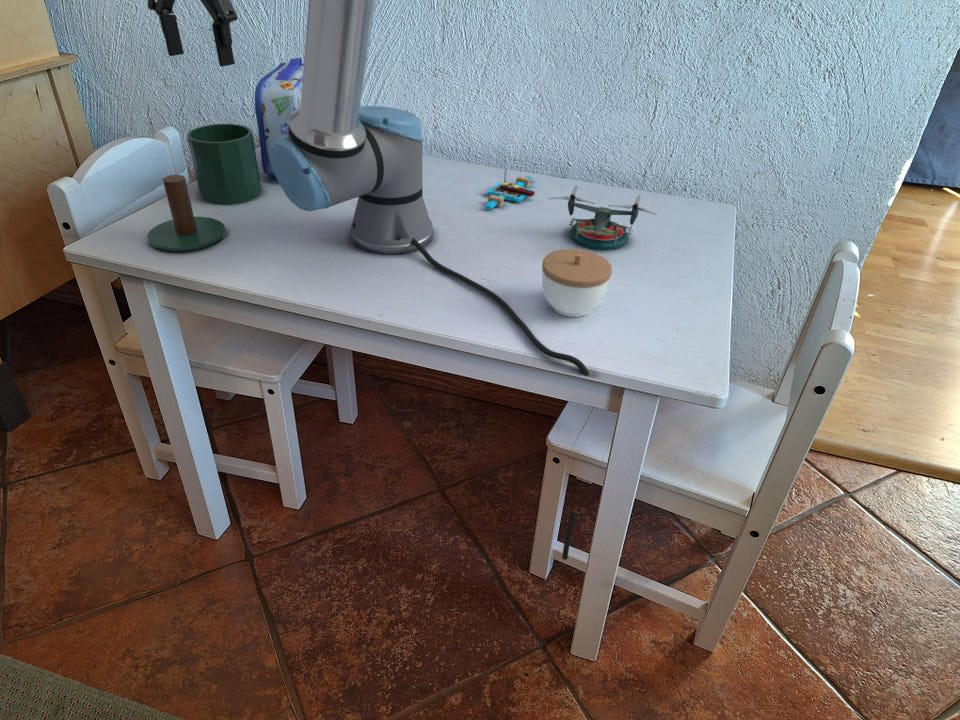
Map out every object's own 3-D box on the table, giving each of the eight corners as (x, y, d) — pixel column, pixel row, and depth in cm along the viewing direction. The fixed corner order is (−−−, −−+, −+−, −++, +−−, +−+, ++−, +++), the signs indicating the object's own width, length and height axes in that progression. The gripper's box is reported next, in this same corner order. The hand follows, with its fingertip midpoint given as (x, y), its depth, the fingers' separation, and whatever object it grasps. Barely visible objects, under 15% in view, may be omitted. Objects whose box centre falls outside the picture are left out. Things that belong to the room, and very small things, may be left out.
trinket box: (598, 291, 110) (606, 240, 104) (610, 326, 101) (620, 272, 96) (534, 289, 109) (540, 238, 104) (541, 325, 101) (547, 271, 95)
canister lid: (241, 233, 122) (230, 175, 116) (182, 260, 113) (166, 199, 106) (193, 216, 127) (180, 159, 121) (133, 241, 118) (115, 181, 111)
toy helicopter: (653, 233, 129) (661, 192, 124) (646, 268, 117) (655, 225, 112) (553, 217, 133) (558, 178, 128) (537, 250, 121) (541, 207, 116)
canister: (273, 190, 139) (264, 131, 132) (229, 209, 131) (216, 147, 123) (233, 178, 144) (222, 120, 137) (187, 195, 136) (173, 134, 128)
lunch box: (288, 144, 163) (275, 48, 150) (329, 145, 164) (320, 50, 151) (259, 185, 141) (241, 77, 128) (308, 187, 141) (295, 79, 128)
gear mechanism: (551, 186, 147) (514, 177, 151) (553, 162, 144) (515, 154, 148) (511, 216, 133) (471, 206, 136) (513, 191, 130) (472, 181, 133)
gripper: (244, -78, 103) (266, 65, 116) (143, -86, 114) (173, 47, 126) (205, -78, 98) (232, 73, 111) (103, -85, 108) (139, 53, 121)
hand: (201, 60), depth 118 cm, fingers open, 13 cm apart
